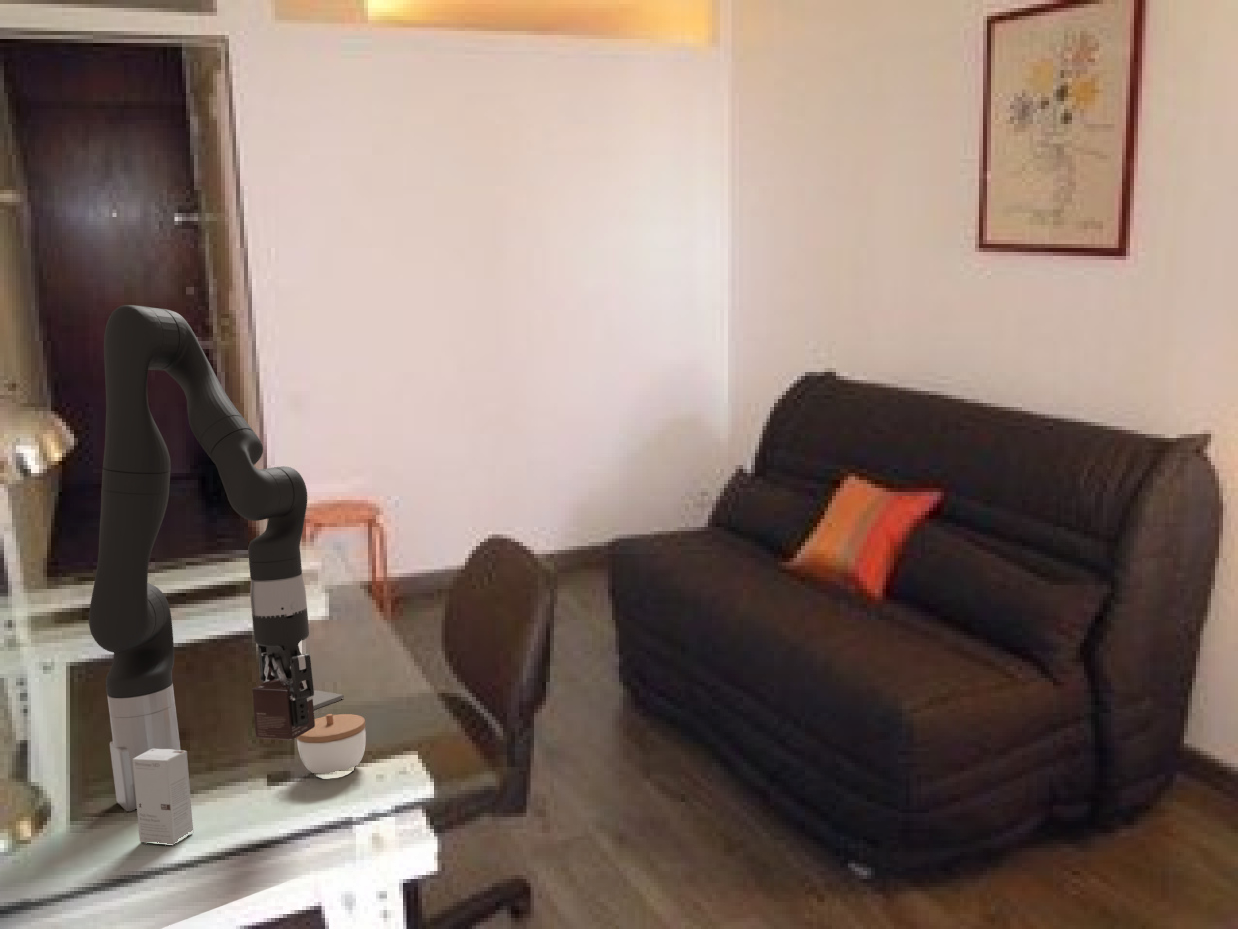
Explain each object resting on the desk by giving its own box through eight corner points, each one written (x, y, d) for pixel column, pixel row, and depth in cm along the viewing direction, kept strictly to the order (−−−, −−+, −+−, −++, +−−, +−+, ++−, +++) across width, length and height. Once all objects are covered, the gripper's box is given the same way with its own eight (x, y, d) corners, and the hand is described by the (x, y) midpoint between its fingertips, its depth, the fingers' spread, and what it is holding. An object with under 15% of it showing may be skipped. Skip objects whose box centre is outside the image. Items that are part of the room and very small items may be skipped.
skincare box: (138, 844, 147) (127, 759, 146) (161, 830, 151) (151, 747, 150) (175, 847, 145) (164, 760, 144) (197, 832, 149) (187, 749, 148)
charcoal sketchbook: (302, 714, 201) (301, 710, 201) (257, 705, 210) (256, 701, 210) (343, 698, 209) (343, 694, 209) (299, 691, 218) (298, 687, 218)
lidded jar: (379, 758, 173) (373, 702, 173) (355, 784, 163) (349, 724, 162) (316, 761, 175) (310, 705, 174) (289, 787, 164) (282, 727, 163)
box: (290, 741, 148) (286, 690, 148) (254, 739, 150) (250, 688, 150) (316, 727, 154) (312, 678, 153) (281, 725, 156) (277, 676, 155)
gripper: (235, 606, 154) (246, 715, 156) (271, 620, 143) (282, 737, 145) (286, 597, 159) (295, 703, 160) (324, 609, 148) (334, 723, 149)
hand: (289, 719), depth 152 cm, fingers closed on box, 8 cm apart
